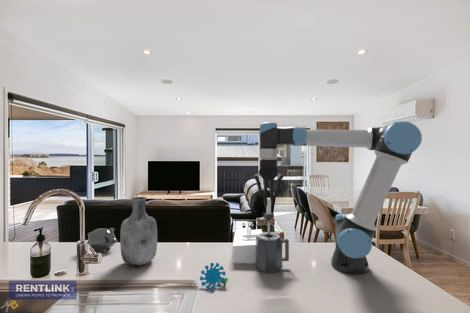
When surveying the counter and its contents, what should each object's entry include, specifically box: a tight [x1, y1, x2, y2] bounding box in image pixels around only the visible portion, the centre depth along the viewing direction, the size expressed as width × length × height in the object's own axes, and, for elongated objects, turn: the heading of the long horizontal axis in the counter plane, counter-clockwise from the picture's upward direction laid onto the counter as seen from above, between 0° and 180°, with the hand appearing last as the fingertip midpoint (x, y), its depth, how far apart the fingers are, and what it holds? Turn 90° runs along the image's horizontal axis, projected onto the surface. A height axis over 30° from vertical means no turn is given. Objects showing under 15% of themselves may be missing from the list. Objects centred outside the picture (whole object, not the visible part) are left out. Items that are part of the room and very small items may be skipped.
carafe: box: [255, 231, 290, 275], centre depth 116 cm, size 14×11×14 cm
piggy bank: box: [87, 227, 118, 254], centre depth 139 cm, size 11×15×12 cm
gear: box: [199, 262, 229, 290], centre depth 103 cm, size 11×6×10 cm
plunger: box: [263, 212, 275, 237], centre depth 115 cm, size 8×8×14 cm
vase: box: [119, 196, 158, 266], centre depth 123 cm, size 16×16×30 cm
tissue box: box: [232, 226, 263, 264], centre depth 133 cm, size 14×25×11 cm, turn 178°
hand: (268, 213), depth 115 cm, fingers closed
